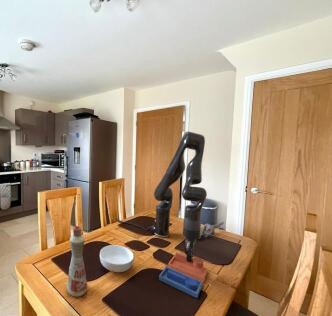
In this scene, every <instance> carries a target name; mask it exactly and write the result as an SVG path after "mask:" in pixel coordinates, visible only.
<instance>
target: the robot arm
mask: <svg viewBox="0 0 332 316" xmlns="http://www.w3.org/2000/svg"><path fill="white" fill-rule="evenodd" d="M205 144H206V137H205V136H204V135H203V134H201V133H196V132H194V131H185V132H184V133H183V135H182V136H181V138H180V141H179V143H178V146H177V149H176V150H175V153H174V155H173V157H172V159H171V161H170V163H169V165H168V167H167V168H166V171H165V173H164V174H163V176H162V179H161V180H160V181H159V183H158V185H157V186H156V187H155V189H154V193H153V197H154V199H155V200H156V201H157V202H159V203H157V204H156V206H155V216H154V217H155V219H154V220H153V225H151V226H148V227H147V228H145V227H143V226H141V225H139V224H135V223H133V222H127V221H123V220H119V219H118V218H114V219H113V220H114V221H117V222H119V223H122V224H127V225H132V226H135V227H138V228H140V229H142V230H145V231H149V230H151V231H153V234H154V235H155V236H157V237H159V238H168V237H169V235H170V223H171V222H170V221H171V220H170V218H171V209H172V206H173V199H174V193H173V190H172V188H171V187H170V186H172V185H174V184H175V183H176V182H177V181H179V180H180V178H182V176H183V174H184V172H185V177H186V178H185V182H184V186H183V188H182V191H181V197H182V199H183V200H184V201H188V202H195V203H194V204H188V205H185V207H184V218H183V227H182V235H183V236H184V237H185V238H186V239H185V242H184V243H185V245H184V246H183V247H184V255H187V258H186V261H187V262H190V263H191V261H192V257H193V258H194V253H195V250H196V243H197V240H200V239H201V237H200V231H201V227H202V222H201V218H202V210H203V206H204V204H205V202H206V200H207V197H208V192H207V190H206V189H205V188H204V187H201V186H194V185H200V184H201V183H202V181H203V172H202V170H203V169H202V168H203V167H202V166H203V159H204V152H205V146H206V145H205ZM186 149H189V150H192V151H194V155H193V157H192V159H190V161H189V162H188V163H187V165H186V162H185V161H186V160H185V156H184V155H185V151H186ZM199 238H200V239H199Z"/></svg>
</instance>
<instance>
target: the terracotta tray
mask: <svg viewBox="0 0 332 316" xmlns="http://www.w3.org/2000/svg"><path fill="white" fill-rule="evenodd" d="M167 267H169V268H171V269H173V270H176V271H178V272H180V273H183V274H185V275H187V276H190V277H192V278H194V279H197V280H199V281H201V282H202V283H204V282H205V280H206V277H207V275H208V270H209V269H208V268H206V267H204V266H203V268H196V267H194V266H193V264H190V263H187V262H184V261H181V260H178V259H176V255H173V257H172V258H171V259H170V260H169V262H168V263H167Z"/></svg>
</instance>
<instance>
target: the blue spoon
mask: <svg viewBox="0 0 332 316" xmlns="http://www.w3.org/2000/svg"><path fill="white" fill-rule="evenodd" d="M167 277H168V278H170V279H172V280H174V281H177V282H179V283H181V284H183V285H185V286H186V288H188V289H190V290H192V291H195V290H196V289H197V282H196V281H195V280H194V279H191V278H186V277H184V276H182V275H180V274H177V273H175V272H173V271H170V270H168V271H167Z"/></svg>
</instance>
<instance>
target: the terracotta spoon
mask: <svg viewBox="0 0 332 316" xmlns="http://www.w3.org/2000/svg"><path fill="white" fill-rule="evenodd" d="M175 257H176V259H178V260H181V261H184V262H187V261H186V258H187V255H186V254H185V253H181V252H178V251H176V252H175ZM187 263H190V262H187ZM190 264H193V266H194V267H196V268H203V267H204V260H203V259H201V258H199V257H194V256H193V257H192V261H191V263H190Z"/></svg>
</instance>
